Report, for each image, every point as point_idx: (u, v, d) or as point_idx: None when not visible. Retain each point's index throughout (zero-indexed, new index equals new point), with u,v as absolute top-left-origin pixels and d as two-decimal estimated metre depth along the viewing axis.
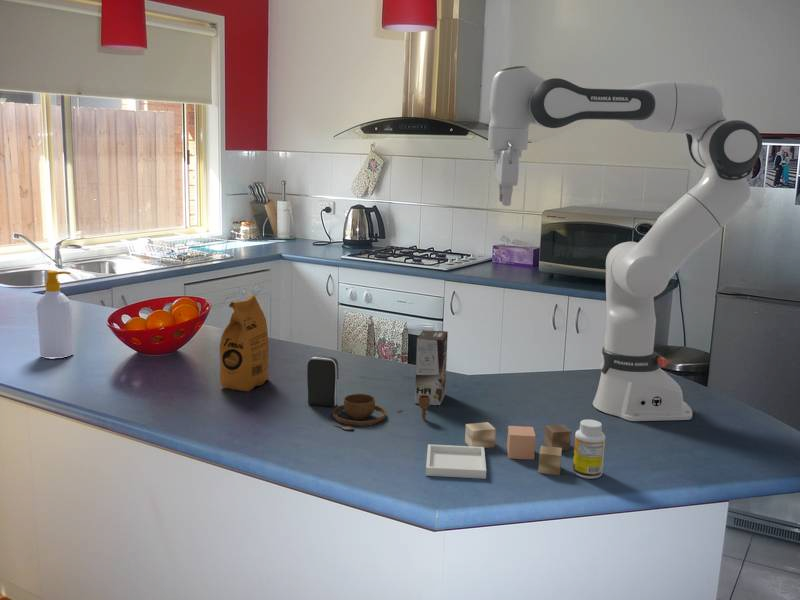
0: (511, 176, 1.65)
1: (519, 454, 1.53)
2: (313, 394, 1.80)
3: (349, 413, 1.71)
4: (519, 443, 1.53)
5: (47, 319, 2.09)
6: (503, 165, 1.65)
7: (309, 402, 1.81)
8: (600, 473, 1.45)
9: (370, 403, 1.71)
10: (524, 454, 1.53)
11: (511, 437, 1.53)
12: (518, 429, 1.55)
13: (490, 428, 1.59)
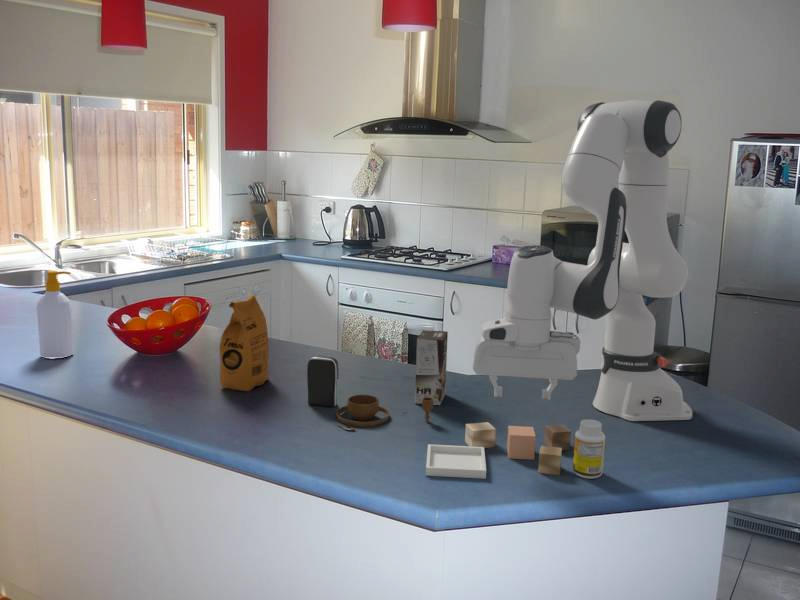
0: None
1: (518, 454, 1.53)
2: (313, 394, 1.80)
3: (352, 414, 1.71)
4: (519, 443, 1.53)
5: (47, 319, 2.09)
6: (576, 359, 1.49)
7: (309, 402, 1.81)
8: (600, 473, 1.45)
9: (373, 404, 1.71)
10: (524, 454, 1.53)
11: (511, 437, 1.53)
12: (518, 429, 1.55)
13: (490, 428, 1.59)
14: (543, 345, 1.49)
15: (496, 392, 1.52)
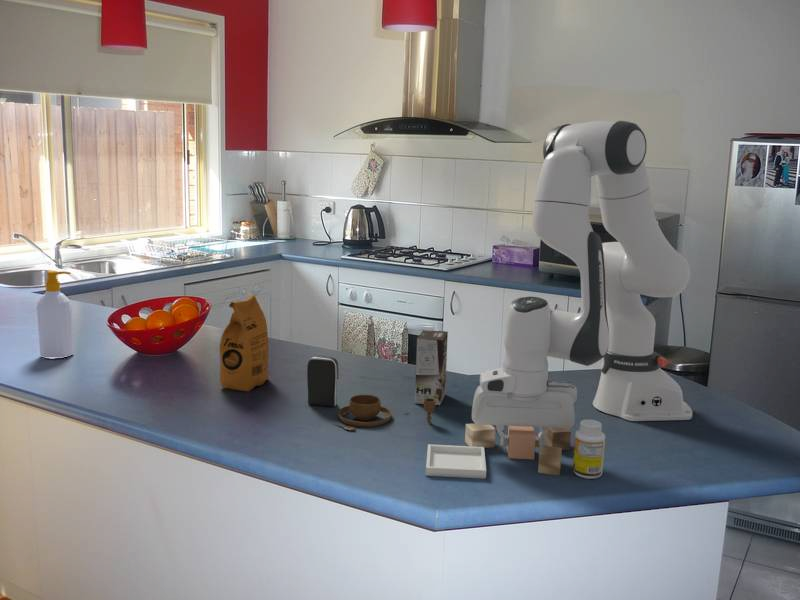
0: None
1: (519, 453, 1.53)
2: (313, 394, 1.80)
3: (353, 413, 1.71)
4: (519, 442, 1.53)
5: (47, 319, 2.09)
6: (573, 408, 1.52)
7: (309, 402, 1.81)
8: (600, 473, 1.45)
9: (374, 404, 1.70)
10: (524, 453, 1.53)
11: (511, 436, 1.53)
12: (518, 429, 1.55)
13: (490, 428, 1.59)
14: (540, 395, 1.51)
15: (503, 441, 1.55)
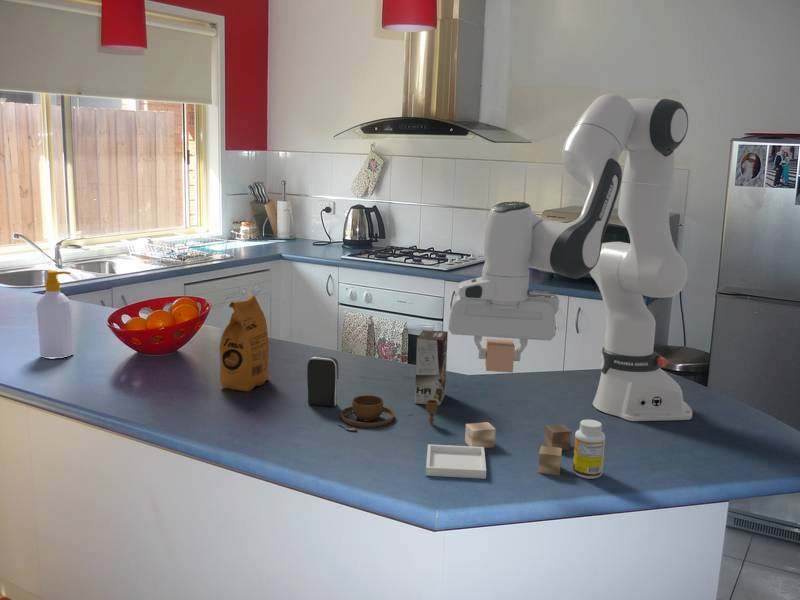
0: None
1: (497, 366, 1.46)
2: (313, 394, 1.80)
3: (356, 414, 1.71)
4: (498, 354, 1.46)
5: (47, 319, 2.09)
6: (554, 318, 1.45)
7: (309, 402, 1.81)
8: (600, 473, 1.45)
9: (377, 405, 1.70)
10: (502, 366, 1.46)
11: (489, 347, 1.46)
12: (496, 342, 1.48)
13: (490, 428, 1.59)
14: (520, 304, 1.45)
15: (480, 354, 1.48)
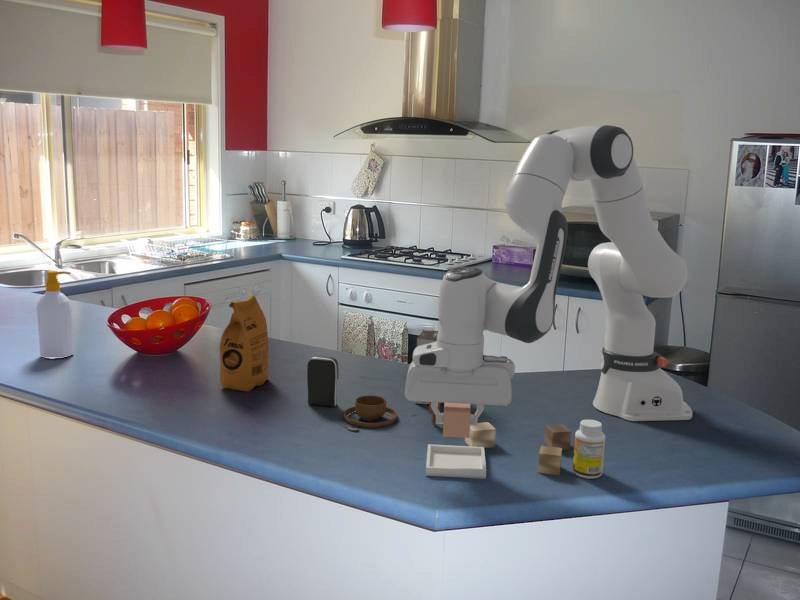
0: None
1: (453, 431, 1.46)
2: (313, 394, 1.80)
3: (358, 414, 1.71)
4: (454, 420, 1.45)
5: (47, 319, 2.09)
6: (510, 384, 1.44)
7: (309, 402, 1.81)
8: (600, 473, 1.45)
9: (379, 405, 1.70)
10: (458, 431, 1.46)
11: (445, 414, 1.45)
12: (453, 406, 1.48)
13: (490, 428, 1.59)
14: (476, 370, 1.44)
15: (437, 419, 1.47)
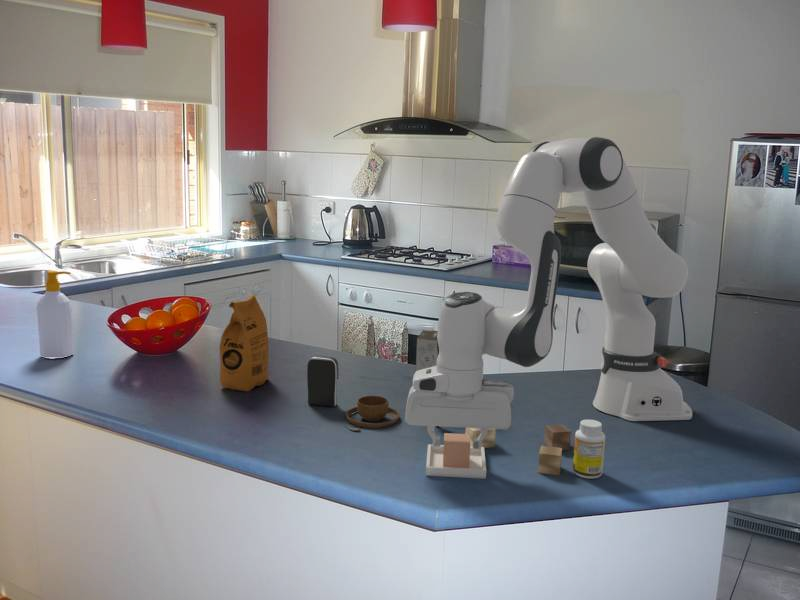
0: None
1: (453, 463, 1.47)
2: (313, 394, 1.80)
3: (360, 414, 1.71)
4: (454, 451, 1.47)
5: (47, 319, 2.09)
6: (510, 408, 1.45)
7: (309, 402, 1.81)
8: (600, 473, 1.45)
9: (381, 406, 1.70)
10: (458, 462, 1.47)
11: (445, 445, 1.46)
12: (453, 437, 1.49)
13: None
14: (475, 395, 1.45)
15: (434, 442, 1.48)
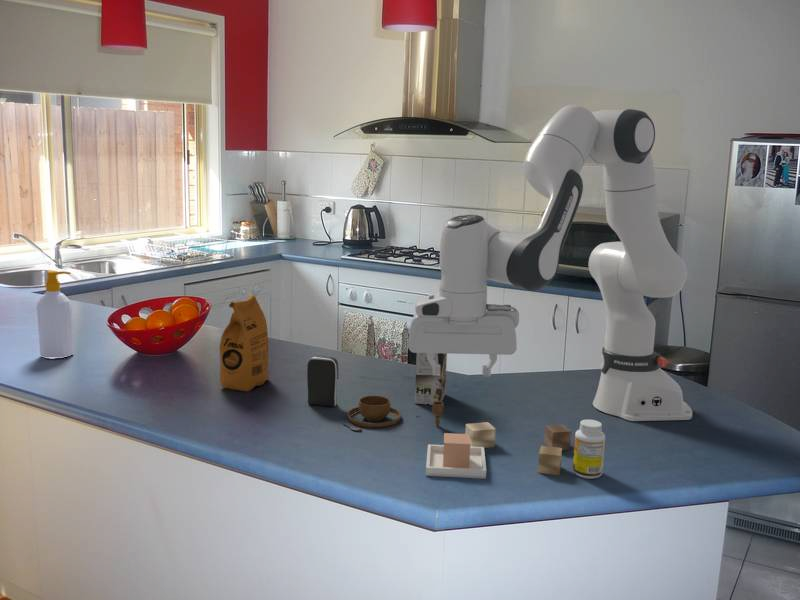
0: None
1: (453, 463, 1.47)
2: (313, 394, 1.80)
3: (362, 414, 1.71)
4: (454, 451, 1.47)
5: (47, 319, 2.09)
6: (515, 332, 1.42)
7: (309, 402, 1.81)
8: (600, 473, 1.45)
9: (383, 406, 1.70)
10: (458, 462, 1.47)
11: (445, 445, 1.46)
12: (453, 437, 1.49)
13: (490, 428, 1.59)
14: (479, 319, 1.42)
15: (434, 370, 1.45)
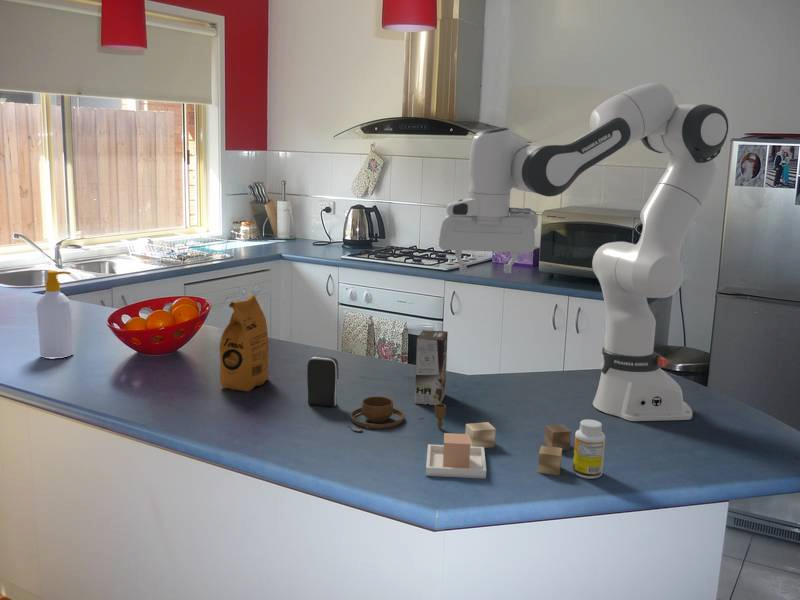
0: None
1: (453, 463, 1.47)
2: (313, 394, 1.80)
3: (364, 415, 1.71)
4: (454, 451, 1.47)
5: (47, 319, 2.09)
6: (534, 232, 1.61)
7: (309, 402, 1.81)
8: (600, 473, 1.45)
9: (385, 407, 1.69)
10: (458, 462, 1.47)
11: (445, 445, 1.46)
12: (453, 437, 1.49)
13: (490, 428, 1.59)
14: (503, 220, 1.61)
15: (461, 267, 1.64)
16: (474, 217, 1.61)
